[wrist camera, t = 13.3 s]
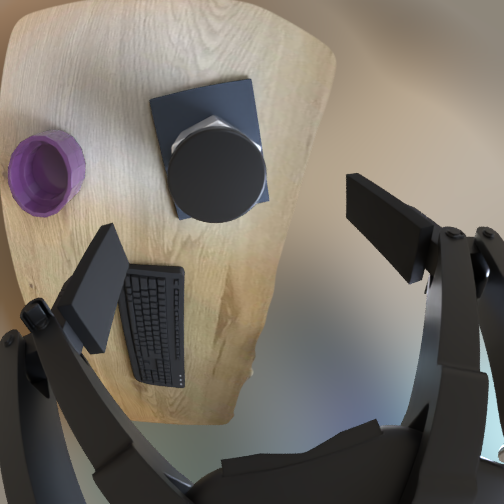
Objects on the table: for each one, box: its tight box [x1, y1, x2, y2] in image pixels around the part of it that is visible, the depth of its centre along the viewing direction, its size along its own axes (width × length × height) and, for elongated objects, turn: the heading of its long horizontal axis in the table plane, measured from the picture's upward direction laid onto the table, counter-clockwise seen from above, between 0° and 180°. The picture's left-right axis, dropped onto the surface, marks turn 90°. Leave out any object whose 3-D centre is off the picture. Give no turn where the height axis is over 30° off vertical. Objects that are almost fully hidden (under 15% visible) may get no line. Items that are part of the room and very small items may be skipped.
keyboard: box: [118, 264, 185, 388], centre depth 46 cm, size 30×11×2 cm, turn 171°
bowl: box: [8, 130, 86, 217], centre depth 27 cm, size 10×10×5 cm
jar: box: [167, 115, 267, 223], centre depth 27 cm, size 9×8×12 cm
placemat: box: [149, 79, 269, 220], centre depth 32 cm, size 16×12×1 cm
